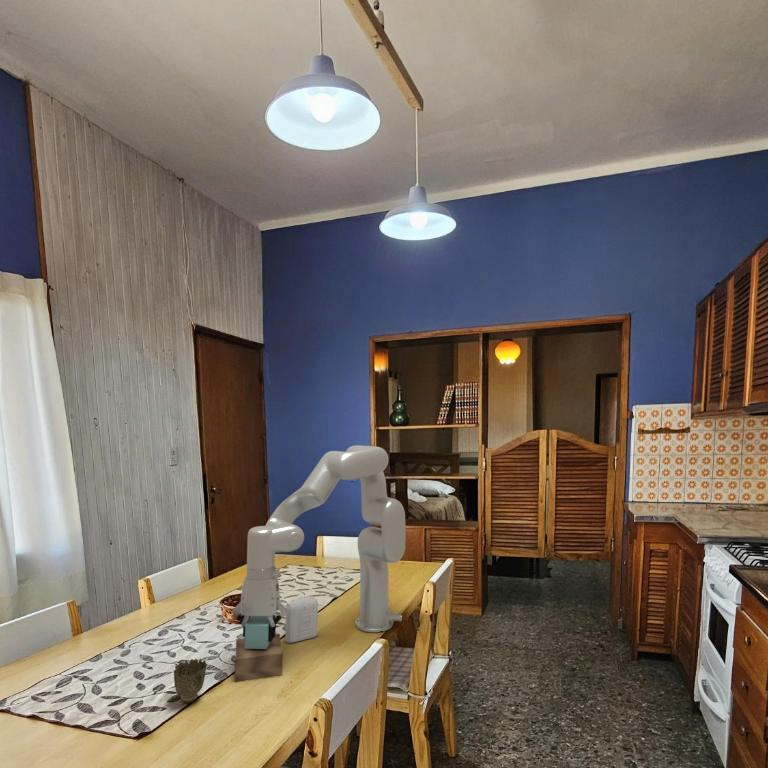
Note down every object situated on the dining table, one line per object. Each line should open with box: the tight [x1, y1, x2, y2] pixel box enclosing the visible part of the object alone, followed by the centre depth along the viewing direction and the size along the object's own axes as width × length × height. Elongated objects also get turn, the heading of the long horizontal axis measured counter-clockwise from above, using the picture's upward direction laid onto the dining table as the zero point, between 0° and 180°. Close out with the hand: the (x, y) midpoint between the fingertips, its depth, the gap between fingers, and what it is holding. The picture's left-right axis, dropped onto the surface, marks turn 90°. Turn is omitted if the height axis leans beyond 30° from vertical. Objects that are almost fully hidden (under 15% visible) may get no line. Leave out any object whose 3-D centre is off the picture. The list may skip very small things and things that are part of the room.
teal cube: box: [245, 616, 271, 649], centre depth 131 cm, size 6×6×6 cm
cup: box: [173, 658, 208, 704], centre depth 115 cm, size 8×7×8 cm
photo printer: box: [284, 595, 319, 644], centre depth 148 cm, size 10×4×12 cm, turn 123°
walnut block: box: [234, 633, 283, 683], centre depth 130 cm, size 12×12×6 cm
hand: (259, 638), depth 131 cm, fingers closed on teal cube, 6 cm apart
